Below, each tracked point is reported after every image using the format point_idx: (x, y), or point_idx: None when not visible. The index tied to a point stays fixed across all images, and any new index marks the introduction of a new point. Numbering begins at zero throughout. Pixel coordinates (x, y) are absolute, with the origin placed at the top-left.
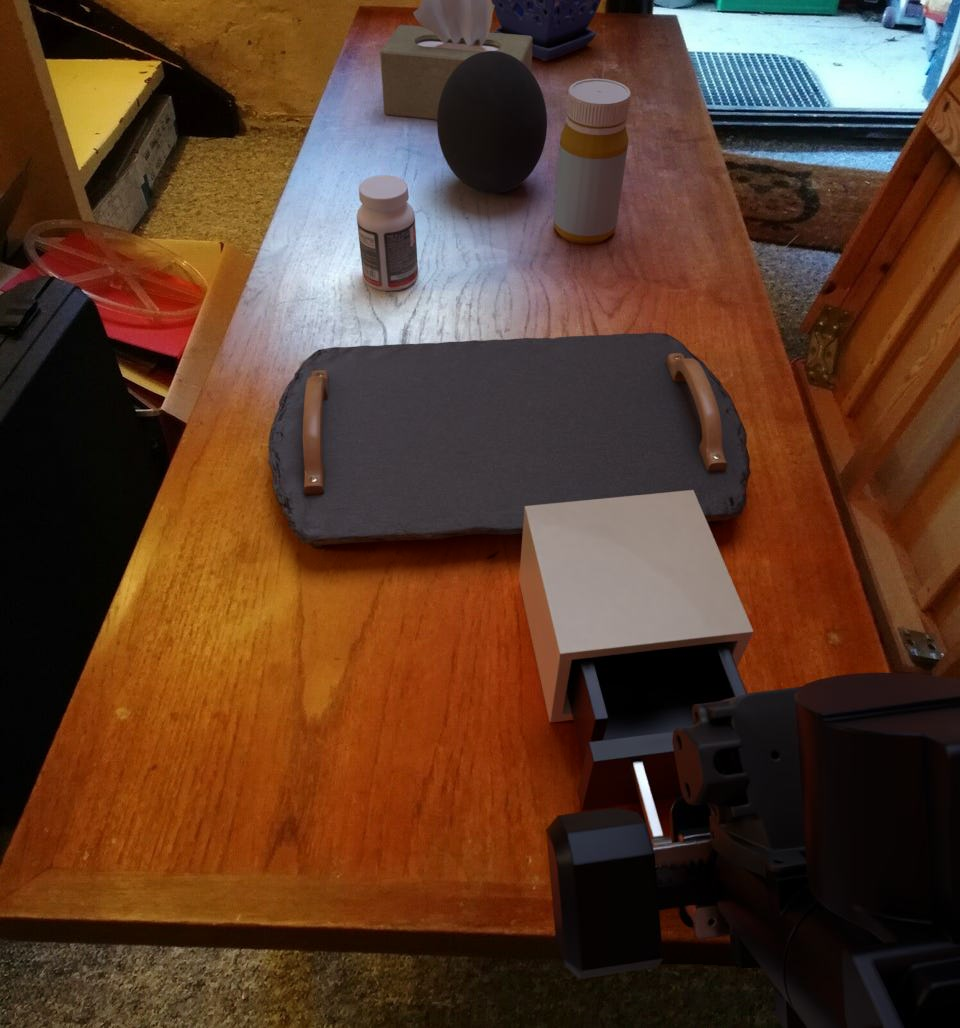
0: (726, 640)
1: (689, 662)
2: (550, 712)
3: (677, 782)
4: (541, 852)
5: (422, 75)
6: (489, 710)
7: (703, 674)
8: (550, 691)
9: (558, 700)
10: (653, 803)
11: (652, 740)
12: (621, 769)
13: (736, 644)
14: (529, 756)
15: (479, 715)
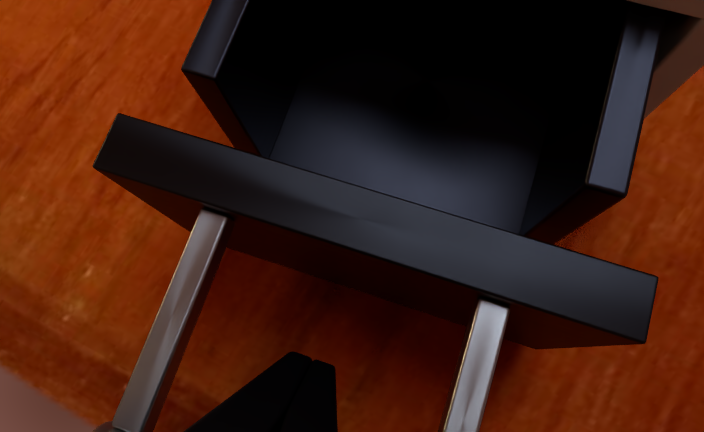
0: (667, 3)
1: (565, 61)
2: None
3: (365, 283)
4: (113, 269)
5: None
6: (182, 12)
7: (569, 89)
8: None
9: None
10: (175, 338)
11: (274, 180)
12: (196, 212)
13: (690, 32)
14: (195, 110)
15: (162, 13)
